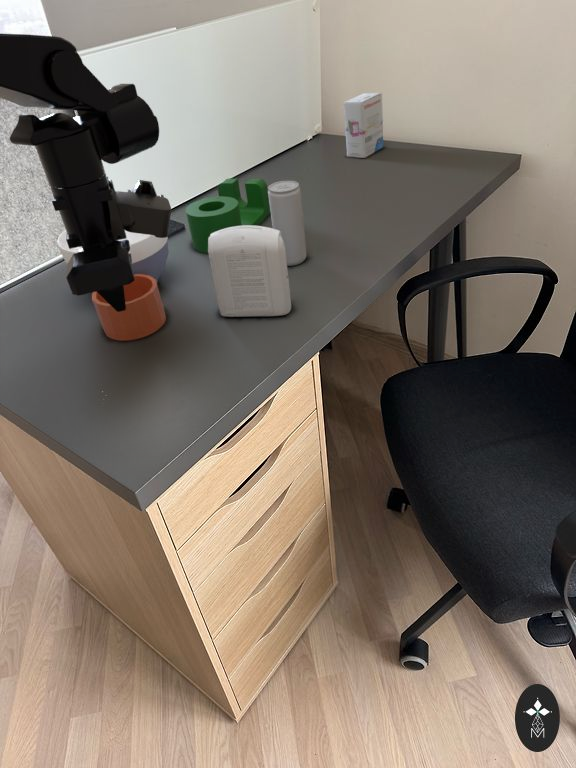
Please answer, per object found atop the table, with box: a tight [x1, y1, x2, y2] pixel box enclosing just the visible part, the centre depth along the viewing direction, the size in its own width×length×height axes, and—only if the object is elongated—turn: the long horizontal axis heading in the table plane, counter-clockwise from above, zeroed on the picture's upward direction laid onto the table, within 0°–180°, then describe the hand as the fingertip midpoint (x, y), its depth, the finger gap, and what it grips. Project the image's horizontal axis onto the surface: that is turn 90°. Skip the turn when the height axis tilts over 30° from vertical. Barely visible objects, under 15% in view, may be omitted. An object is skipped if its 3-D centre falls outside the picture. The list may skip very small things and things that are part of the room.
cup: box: [91, 274, 167, 342], centre depth 79 cm, size 9×9×6 cm
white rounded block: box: [207, 225, 292, 318], centre depth 76 cm, size 10×4×12 cm, turn 83°
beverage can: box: [267, 180, 307, 267], centre depth 88 cm, size 5×5×12 cm
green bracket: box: [185, 177, 271, 254], centre depth 102 cm, size 18×9×6 cm, turn 160°
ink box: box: [343, 92, 384, 159], centre depth 128 cm, size 9×5×12 cm, turn 141°
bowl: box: [56, 229, 169, 283], centre depth 87 cm, size 16×16×10 cm
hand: (121, 309), depth 68 cm, fingers closed
